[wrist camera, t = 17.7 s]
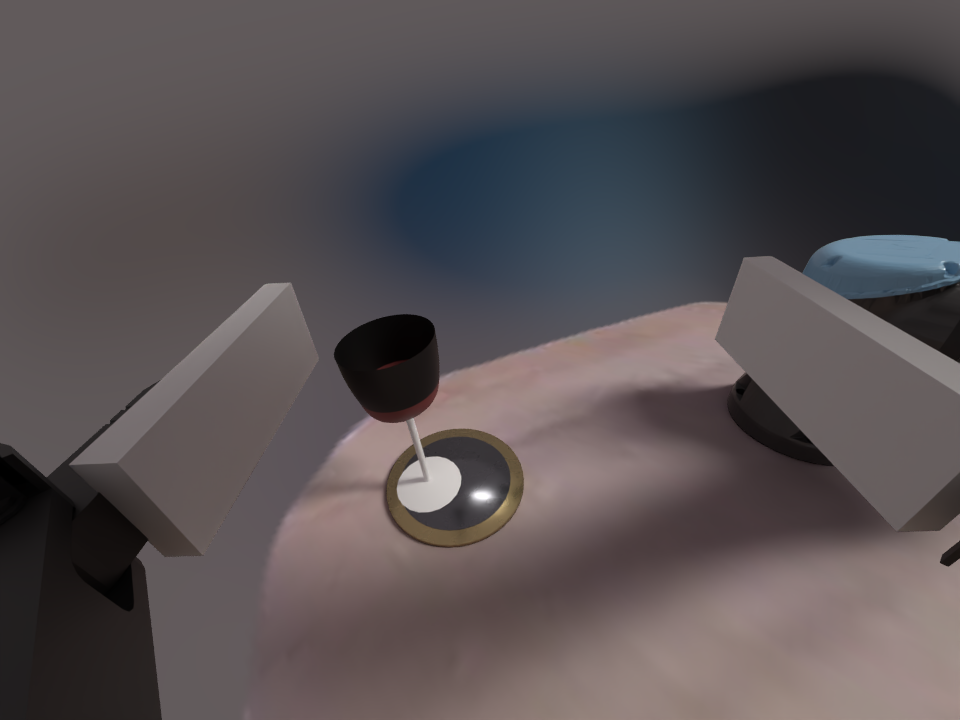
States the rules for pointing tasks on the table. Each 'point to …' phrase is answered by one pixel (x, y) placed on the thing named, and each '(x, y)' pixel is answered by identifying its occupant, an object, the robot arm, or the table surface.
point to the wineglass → (401, 395)
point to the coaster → (463, 489)
